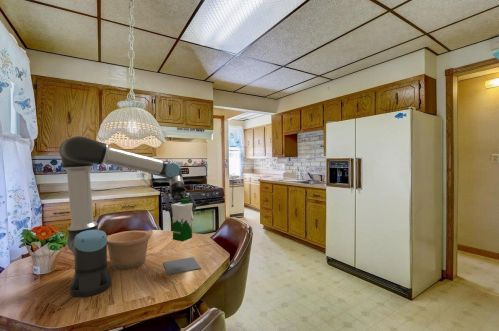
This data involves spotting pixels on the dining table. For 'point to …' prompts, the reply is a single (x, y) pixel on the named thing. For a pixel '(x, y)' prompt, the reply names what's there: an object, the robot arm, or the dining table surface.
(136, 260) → the pottery
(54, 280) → the dining table surface
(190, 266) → the mat
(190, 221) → the soya milk
